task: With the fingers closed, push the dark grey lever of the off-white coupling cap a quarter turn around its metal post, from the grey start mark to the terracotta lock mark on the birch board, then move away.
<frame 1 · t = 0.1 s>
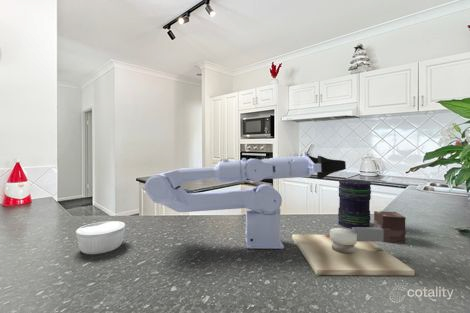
hand: (338, 164, 63), 22 cm above the countertop, tool horizontal, fingers open, 7 cm apart
box: (388, 239, 68), on the countertop
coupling: (356, 234, 57), point 5 cm above the countertop, hinge at 0.0°
ramekin: (102, 247, 60), on the countertop
post board: (342, 253, 58), on the countertop
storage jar: (353, 225, 80), on the countertop
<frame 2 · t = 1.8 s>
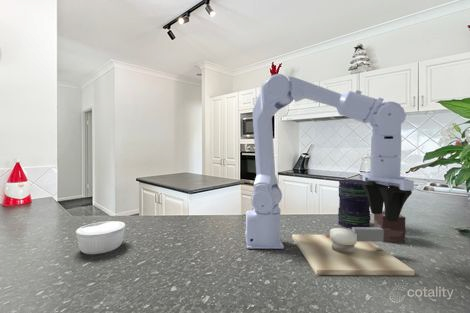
hand: (383, 217, 53), 10 cm above the countertop, tool pointing down, fingers open, 5 cm apart
nothing on the countertop moved.
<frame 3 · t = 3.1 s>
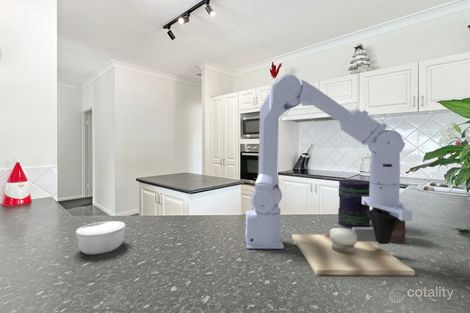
hand: (382, 242, 53), 4 cm above the countertop, tool pointing down, fingers closed
nothing on the countertop moved.
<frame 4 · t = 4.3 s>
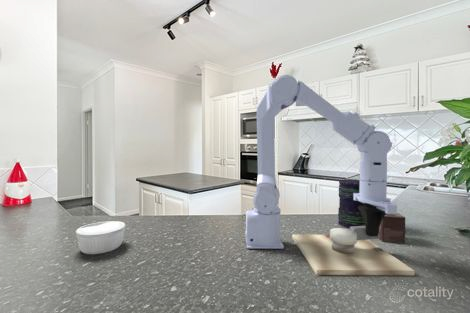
hand: (371, 235, 57), 5 cm above the countertop, tool pointing down, fingers closed, pressing on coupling
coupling: (354, 233, 58), point 5 cm above the countertop, hinge at 11.3°, touching gripper
everything else where it was.
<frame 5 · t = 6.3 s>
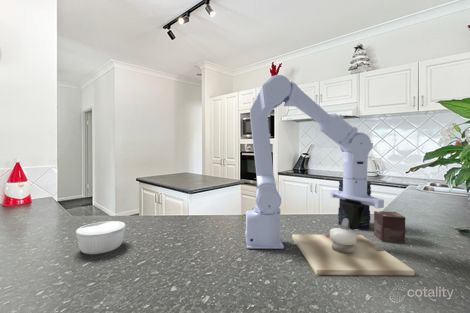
hand: (354, 229, 62), 4 cm above the countertop, tool pointing down, fingers closed
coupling: (344, 230, 60), point 5 cm above the countertop, hinge at 59.8°, touching gripper
everything else where it was.
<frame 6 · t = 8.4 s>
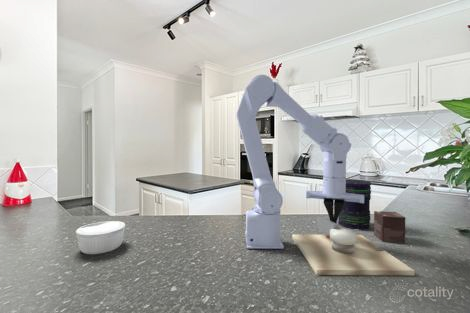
hand: (333, 226, 65), 4 cm above the countertop, tool pointing down, fingers closed
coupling: (334, 229, 61), point 5 cm above the countertop, hinge at 105.3°
everything else where it was.
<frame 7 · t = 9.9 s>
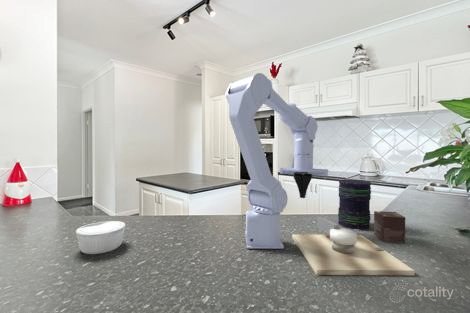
hand: (302, 197, 74), 10 cm above the countertop, tool pointing down, fingers closed
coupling: (334, 229, 61), point 5 cm above the countertop, hinge at 104.6°
everything else where it was.
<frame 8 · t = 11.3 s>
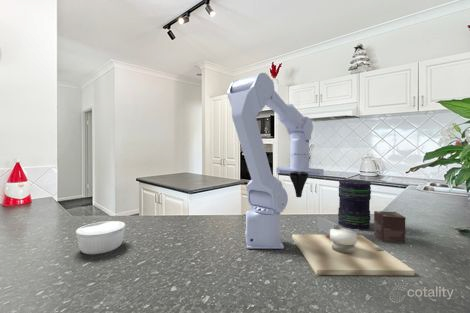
hand: (298, 196, 75), 10 cm above the countertop, tool pointing down, fingers closed
nothing on the countertop moved.
at the end: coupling at +105° (first picture: +0°); the gripper is holding nothing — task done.
